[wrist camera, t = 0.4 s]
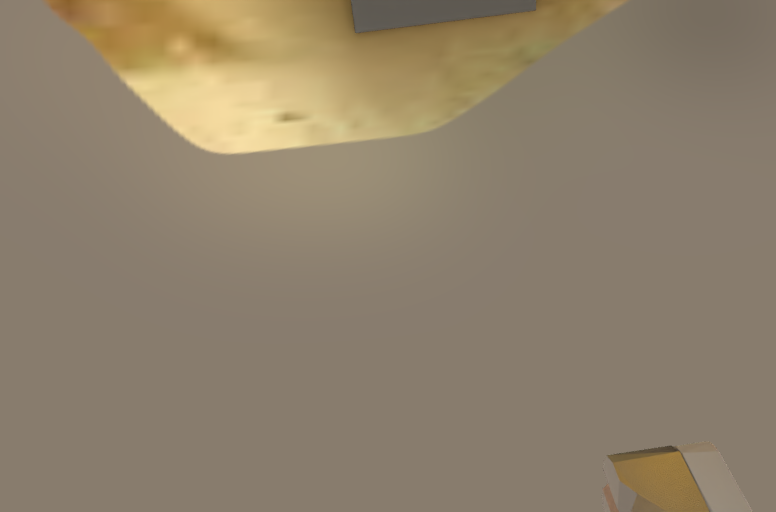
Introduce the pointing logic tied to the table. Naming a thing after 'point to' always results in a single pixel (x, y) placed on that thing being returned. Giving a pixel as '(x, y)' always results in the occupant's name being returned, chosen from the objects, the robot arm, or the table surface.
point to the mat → (428, 11)
